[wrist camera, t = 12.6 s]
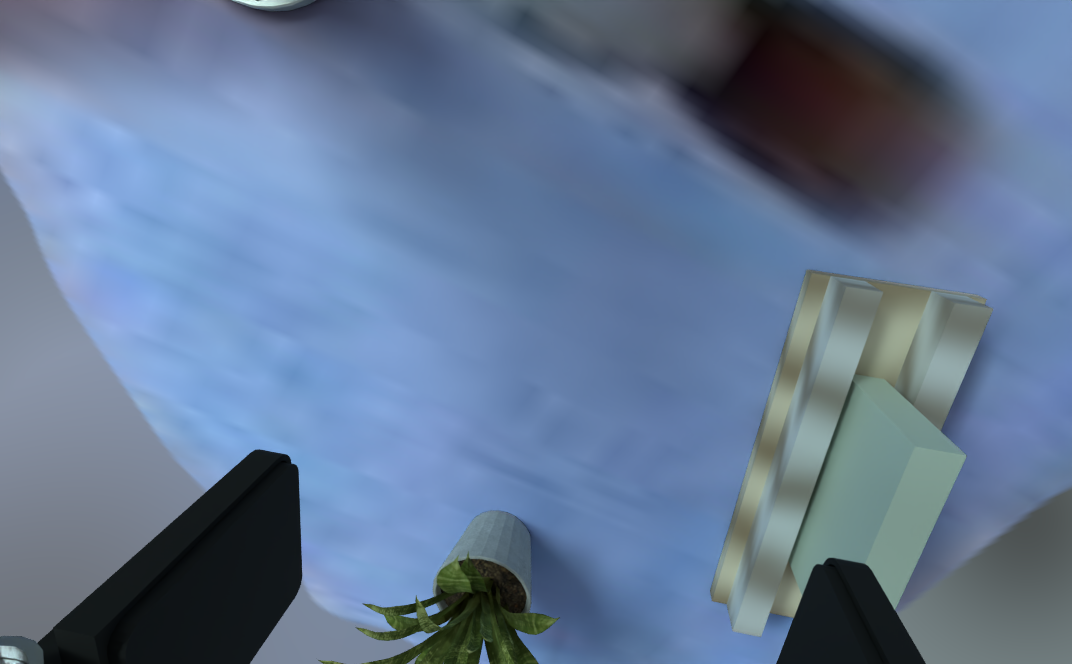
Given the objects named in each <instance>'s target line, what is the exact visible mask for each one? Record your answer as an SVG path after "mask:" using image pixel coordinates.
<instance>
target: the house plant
mask: <svg viewBox="0 0 1072 664" xmlns="http://www.w3.org/2000/svg"><path fill="white" fill-rule="evenodd" d="M433 594H434V597H433V598H430V599H427V600H424V601H421V602H419V601H418V599H417V595H416V603H414V604H409V605H404V606H395V607H387V608H382V607H378V606H375V605H372V604H364V605H365V606H367V607H369V608H370V609H372V610H373V611H375V612H378V613H380V614H383V615H384V616H385V618H386V620H387V622H388V623H389V624H390V625H391V626H392V627H393V628H394V629H396V630H397V631H390V632H373V631H370V630H367V629H362V628H357V629H358V630H360V631H361V632H363V633H364V634H366V635H367V636H369V637H372V638H374V639H377V640H385V641H389V640H397V639H401V638H404V637H407V636H409V635H412V634H414V633H416V632H420V631H424V632H426V633H432V632H435V631H438V630H439V631H438V632H436V633H435V634H433V635H432V636H431V637H429V638H428V639H427V640H425V641H424V642H422V643H420V644H419V645H417V646H415V647H413V648H411V649H409V650H408V651H406V652H404V653H401V654H399V655H396V656H394V657H391V658H388V659H384V660H378V661H373V662H368V663H363V664H407V663H408V662H409V661H411V660H412V659H414V658H415V657H416V656H418V655H419V654H420V655H419V656H418V658H417V659H416V661H415V664H443V663H444V664H479V660H480V655H481V649H482V644H483V639H484V641H485V646H486V650H487V655H488V658H489V662H490V664H538V662H537V661H536V659H535V658H534V656H533V655H532V654H531V652H530V651H529V650H528V649H527V647H526V646H525V645H524V644H523V642H522V641H521V639H520V638H519V637H518V635H517V633H516V631H515V629H516V630H519V631H521V632H524V633H527V634H533V635H537V634H539V633H542V632H544V631H545V630H546V629H548V628H549V627H550V626H551V625H552V624H553V623H555V622H556V621H557V620H558V619H559V618H560V617H559V618H556V619H554V618H552V617H549V616H546V615H544V614H537V613H529V612H530V607H531V539H530V533H529V532H528V530H527V528H526V527H525V526H524V525H523V523H522V522H521V521H520V520H519V519H518V518H517V517H516V516H514V515H511V514H509V513H507V512H502V511H488V512H484V513H482V514H480V515H478V516H476V517H475V518H474V519H473V520H472V522H471V523H470V525H469V526H468V528H467V529H466V531H465V532H464V533H463V535H462V536H461V538H460V539H459V541H458V542H457V544H456V545H455V547H454V548H453V550H452V551H451V553H450V554H449V556H448V557H447V559H446V560H445V562H444V563H443V565H442V566H441V568H440V569H439V571H438V572H437V575H436V577H435V579H434V583H433ZM435 603H436V604H437V606H438V608H439V610H440V612H439V613H437V614H434V615H431V616H428V615H427V613H426V611H425V608H426V607H428V606H431V605H433V604H435ZM414 612H417V617H418V618H415V619H414V618H408V617H403V616H399V615H406V614H410V613H414ZM448 620H449V622H448V624H447V625H445V626H444V627H442V628H441V627H439V626H438V625H440V624H443V623H445V622H447V621H448ZM319 661H320V660H319ZM320 662H322V663H323V664H343V663H338V662H334V661H320Z"/></svg>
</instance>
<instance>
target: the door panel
mask: <svg viewBox="0 0 1072 664" xmlns="http://www.w3.org/2000/svg"><path fill="white" fill-rule="evenodd" d="M966 457H967V455H966V454H964V453H963V452H962V451H961V450H960V449H959V448H958V447H957V446H956V445H955V444H954V443H953V442H952V441H950V440H949V439H948V438H947V437H946V436H945V435H944V434H943V433H942V432H941V431H940V430H939V429H938V428H936V427H935V426H934V425H933V424H932V423H931V422H930V421H929V420H928V419H927V418H926V417H925V416H924V415H923V414H921V413H920V412H919V411H918V410H917V409H916V408H915V407H914V406H913V405H912V404H911V403H910V402H909V401H907V400H906V399H905V398H904V397H903V396H902V395H901V394H900V393H899V392H898V391H897V390H896V389H895V388H893V387H892V386H891V385H890V384H889V383H888V382H887V381H886V380H885V379H881V378H875V377H869V376H863V375H857V374H854V376H853V379H852V382H851V385H850V388H849V391H848V393H847V396H846V399H845V402H844V405H843V407H842V410H841V413H840V416H839V419H838V421H837V424H836V427H835V430H834V433H833V436H832V438H831V441H830V444H829V447H828V450H827V452H826V455H825V458H824V461H823V464H822V467H821V469H820V472H819V475H818V478H817V481H816V483H815V486H814V489H813V492H812V495H811V497H810V500H809V503H808V506H807V509H806V512H805V514H804V517H803V520H802V523H801V526H800V528H799V531H798V534H797V537H796V540H795V543H794V545H793V548H792V551H791V554H790V557H789V559H788V561H789V564H790V566H791V569H792V571H793V574H794V577H795V579H796V582H797V584H798V587H799V589H800V592H801V594H802V595H803V593H804V590H805V587H806V585H807V582H808V579H809V577H810V574H811V572H812V569H813V567H814V566H815V565H816V564H822V565H823V564H824V562H825V560H827V559H828V558H837V559H843V560H848V561H853V562H859V563H864V564H866V565H868V566H869V567H870V569H871V570H872V572H873V573H874V575H875V577H876V578H877V580H878V582H879V584H880V585H881V587H882V589H883V591H884V592H885V594H886V596H887V597H888V599H889V601H890V603H891V604H892V606H893V608H894V610H895V609H896V607H897V605H898V603H899V601H900V598H901V596H902V594H903V592H904V590H905V588H906V586H907V583H908V581H909V579H910V577H911V575H912V573H913V571H914V568H915V566H916V564H917V562H918V560H919V558H920V555H921V553H922V551H923V549H924V547H925V545H926V543H927V540H928V538H929V536H930V534H931V532H932V530H933V528H934V525H935V523H936V521H937V519H938V517H939V515H940V513H941V510H942V508H943V506H944V504H945V502H946V500H947V498H948V495H949V493H950V491H951V489H952V487H953V485H954V483H955V480H956V478H957V476H958V474H959V472H960V470H961V467H962V465H963V463H964V461H965V459H966Z"/></svg>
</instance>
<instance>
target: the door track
mask: <svg viewBox="0 0 1072 664" xmlns="http://www.w3.org/2000/svg"><path fill="white" fill-rule="evenodd" d="M986 300H987V299H985V298H982V297H980V296H978V295H974V294H968V293H961V292H954V291H947V290H941V289H934V288H927V287H921V286H914V285H907V284H901V283H894V282H887V281H880V280H874V279H867V278H860V277H854V276H847V275H840V274H834V273H827V272H820V271H814V270H806V274H805V277H804V280H803V284H802V287H801V290H800V294H799V297H798V300H797V304H796V307H795V310H794V314H793V317H792V320H791V324H790V327H789V330H788V334H787V337H786V340H785V344H784V347H783V350H782V354H781V357H780V360H779V364H778V367H777V370H776V374H775V377H774V380H773V384H772V387H771V390H770V394H769V397H768V400H767V403H766V407H765V410H764V413H763V417H762V420H761V423H760V427H759V430H758V433H757V437H756V440H755V443H754V447H753V450H752V453H751V457H750V460H749V463H748V467H747V470H746V473H745V477H744V480H743V483H742V487H741V490H740V493H739V497H738V500H737V503H736V507H735V510H734V513H733V517H732V520H731V523H730V527H729V530H728V533H727V536H726V540H725V543H724V546H723V550H722V553H721V556H720V560H719V563H718V566H717V570H716V573H715V576H714V580H713V583H712V586H711V590H710V593H711V598H712V601H714V602H719V603H724V604H727V608H728V613H729V617H730V621H731V626H732V630H733V631H734V632H739V633H744V634H748V635H753V636H758V637H761V635H762V633H763V630H764V627H765V624H766V621H767V619H768V616H769V613H773V614H778V615H782V616H787V617H792V618H794V616H795V614H796V611H797V608H798V606H799V603H800V600H801V598H802V594H801V592H800V589H799V587H798V584H797V582H796V579H795V577H794V574H793V571H792V569H791V566H790V564H789V561H788V559H789V557H790V554H791V551H792V548H793V545H794V543H795V540H796V537H797V534H798V531H799V528H800V526H801V523H802V520H803V517H804V514H805V512H806V509H807V506H808V503H809V500H810V497H811V495H812V492H813V489H814V486H815V483H816V481H817V478H818V475H819V472H820V469H821V467H822V464H823V461H824V458H825V455H826V452H827V450H828V447H829V444H830V441H831V438H832V436H833V433H834V430H835V427H836V424H837V421H838V419H839V416H840V413H841V410H842V407H843V405H844V402H845V399H846V396H847V393H848V391H849V388H850V385H851V382H852V379H853V376H854V374H857V375H863V376H869V377H875V378H881V379H885V380H886V381H887V382H888V383H889V384H890V385H891V386H892V387H893V388H895V389H896V390H897V391H898V392H899V393H900V394H901V395H902V396H903V397H904V398H905V399H906V400H907V401H909V402H910V403H911V404H912V405H913V406H914V407H915V408H916V409H917V410H918V411H919V412H920V413H921V414H923V415H924V416H925V417H926V418H927V419H928V420H929V421H930V422H931V423H932V424H933V425H934V426H935V427H936V428H938V429H939V430H940V431H941V429H942V427H943V424H944V422H945V420H946V417H947V415H948V413H949V411H950V408H951V406H952V404H953V401H954V399H955V397H956V394H957V392H958V390H959V387H960V385H961V383H962V380H963V378H964V376H965V373H966V371H967V369H968V366H969V364H970V362H971V360H972V357H973V355H974V353H975V350H976V348H977V346H978V343H979V341H980V339H981V336H982V334H983V332H984V329H985V327H986V325H987V322H988V320H989V318H990V316H991V313H992V311H993V308H990V307H988V306H986V305H985V302H986Z"/></svg>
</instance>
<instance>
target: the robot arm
mask: <svg viewBox="0 0 1072 664" xmlns="http://www.w3.org/2000/svg"><path fill="white" fill-rule="evenodd" d="M232 1H234V2H236V3H239V4H242V5H245V6H248V7H251V8H255V9H260V10H266V11H290V10H293V9H297V8H300V7H303V6H307V5H309V4H311V3H312V2H314V1H316V0H232ZM301 581H302V556H301V528H300V499H299V472H298V467H297V465H295V464H291V459H290V457H289V456H288V455H286V454H281V453H275V452H270V451H265V450H254V451H253V452H251V453H250V454H249V455H248V456H247V457H245V458H244V459H243V460H242V461H241V462H240V463H239V464H237V465H236V466H235V467H234V468H233V469H232V470H231V471H230V472H228V473H227V474H226V475H225V476H224V477H223V478H222V479H221V480H219V481H218V482H217V483H216V484H215V485H214V486H213V487H211V488H210V489H209V490H208V491H207V492H206V493H205V494H204V495H203V496H201V497H200V498H199V499H198V500H197V501H196V502H195V503H193V504H192V505H191V506H190V507H189V508H188V509H187V510H186V511H184V512H183V513H182V514H181V515H180V516H179V517H178V518H176V519H175V520H174V521H173V522H172V523H171V524H170V525H169V526H168V527H166V528H165V529H164V530H163V531H162V532H161V533H160V534H158V535H157V536H156V537H155V538H154V539H153V540H152V541H151V542H150V543H148V544H147V545H146V546H145V547H144V548H143V549H142V550H140V551H139V552H138V553H137V554H136V555H135V556H134V557H132V558H131V559H130V560H129V561H128V562H127V563H126V564H124V565H123V566H122V567H121V568H120V569H119V570H118V571H117V572H115V573H114V574H113V575H112V576H111V577H110V578H109V579H108V580H107V581H106V582H104V583H103V584H102V585H101V586H100V587H99V588H97V589H96V590H95V591H94V592H93V593H92V594H91V595H90V596H88V597H87V598H86V599H85V600H84V601H83V602H82V603H80V605H78V606H77V607H76V608H75V609H74V610H73V611H71V612H70V613H69V614H68V615H67V616H66V617H65V618H63V619H62V620H61V621H60V622H59V623H58V624H57V625H56V626H55V627H53V629H52V630H51V631H50V632H49V633H48V634H47V635H46V636H45V637H44V638H42V639H41V640H40V641H39V642H38V643H36V641H34V640H31V639H28V638H25V637H22V636H1V637H0V664H250V662H251V661H252V659H253V658H254V656H255V655H256V654H257V652H258V651H259V649H260V648H261V646H262V645H263V643H264V642H265V640H266V639H267V638H268V636H269V634H270V633H271V632H272V630H273V629H274V627H275V626H276V624H277V623H278V621H279V620H280V618H281V617H282V616H283V614H284V613H285V611H286V610H287V608H288V607H289V605H290V604H291V602H292V601H293V600H294V598H295V596H296V595H297V593H298V590H299V588H300V585H301ZM776 664H926V663H925V661H924V660H923V658H922V657H921V655H920V653H919V651H918V649H917V648H916V646H915V644H914V643H913V641H912V639H911V637H910V636H909V634H908V632H907V630H906V629H905V627H904V625H903V623H902V622H901V620H900V619H899V616H898V615H897V613H896V611H895V610H894V608H893V606H892V604H891V603H890V601H889V599H888V597H887V596H886V594H885V592H884V591H883V589H882V587H881V585H880V584H879V582H878V580H877V578H876V577H875V575H874V573H873V572H872V570H871V569H870V567H869V566H868V565H866V564H864V563H859V562H853V561H848V560H843V559H837V558H828V559H827V560H825V562H824V564H823V565H822V564H816V565H815V566H814V567H813V569H812V572H811V574H810V577H809V579H808V582H807V585H806V587H805V590H804V593H803V595H802V598H801V600H800V603H799V606H798V608H797V611H796V614H795V616H794V619H793V621H792V624H791V627H790V629H789V632H788V635H787V637H786V640H785V642H784V645H783V648H782V650H781V653H780V656H779V658H778V661H777V663H776Z"/></svg>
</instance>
